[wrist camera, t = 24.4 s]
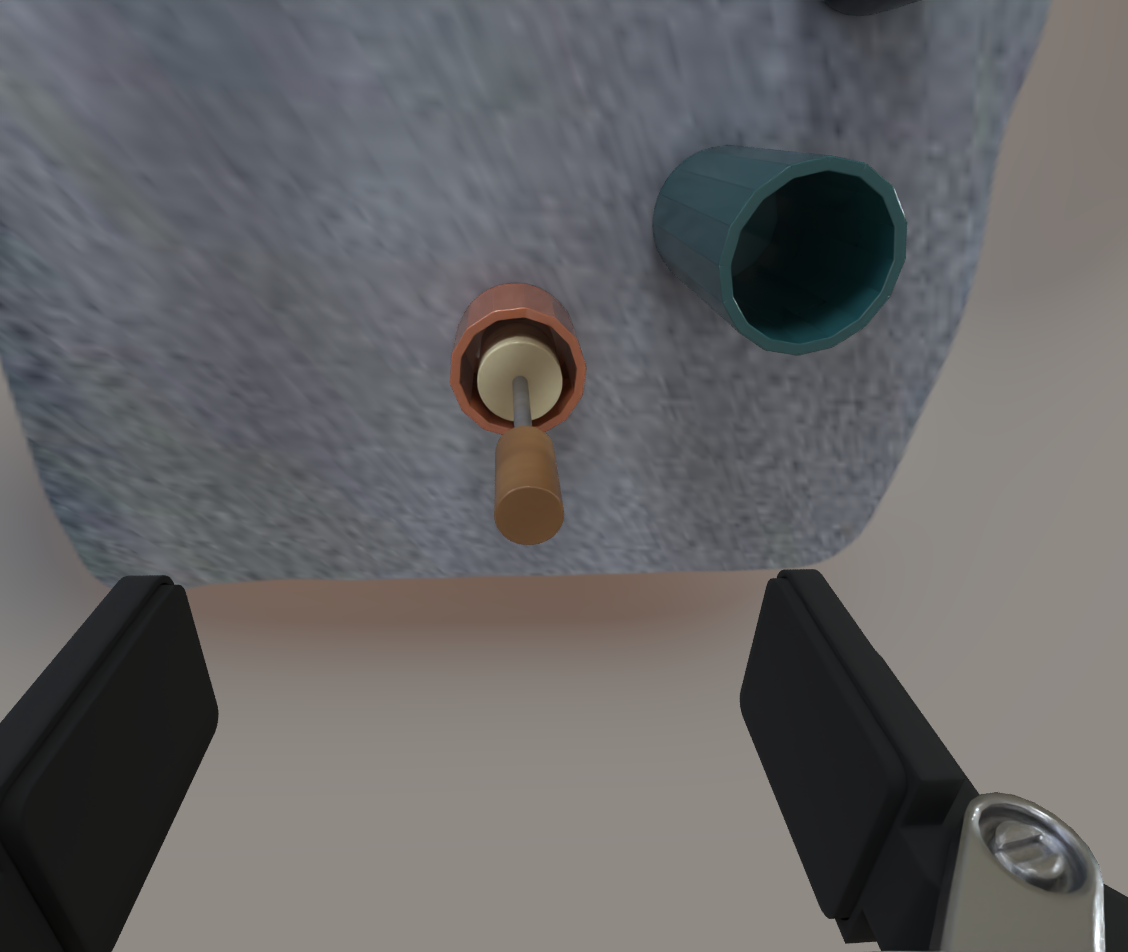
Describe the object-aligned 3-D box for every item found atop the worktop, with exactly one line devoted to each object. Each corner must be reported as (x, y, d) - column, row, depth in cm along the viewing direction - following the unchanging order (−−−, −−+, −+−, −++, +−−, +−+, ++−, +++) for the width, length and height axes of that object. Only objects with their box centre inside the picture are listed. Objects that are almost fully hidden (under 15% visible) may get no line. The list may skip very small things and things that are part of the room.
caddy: (436, 361, 40) (425, 398, 34) (495, 257, 37) (494, 280, 32) (534, 416, 42) (539, 459, 36) (597, 322, 39) (612, 353, 34)
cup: (626, 240, 37) (681, 293, 26) (707, 115, 34) (809, 112, 23) (725, 309, 39) (816, 385, 28) (808, 197, 37) (945, 231, 25)
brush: (467, 359, 39) (441, 536, 22) (504, 296, 38) (506, 436, 21) (529, 395, 40) (549, 586, 24) (568, 336, 39) (618, 496, 22)
